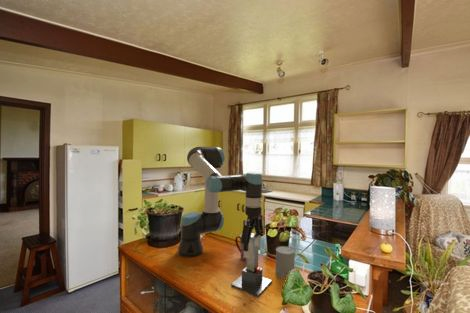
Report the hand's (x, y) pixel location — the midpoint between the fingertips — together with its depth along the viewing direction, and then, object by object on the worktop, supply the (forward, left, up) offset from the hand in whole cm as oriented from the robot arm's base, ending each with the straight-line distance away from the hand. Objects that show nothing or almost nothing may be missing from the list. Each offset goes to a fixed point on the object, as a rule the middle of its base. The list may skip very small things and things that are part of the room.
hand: (252, 253), depth 108 cm
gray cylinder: (+9, +18, -15) cm, 25 cm away
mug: (-17, +21, -15) cm, 31 cm away
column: (0, 0, -7) cm, 7 cm away
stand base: (0, 0, -15) cm, 15 cm away
